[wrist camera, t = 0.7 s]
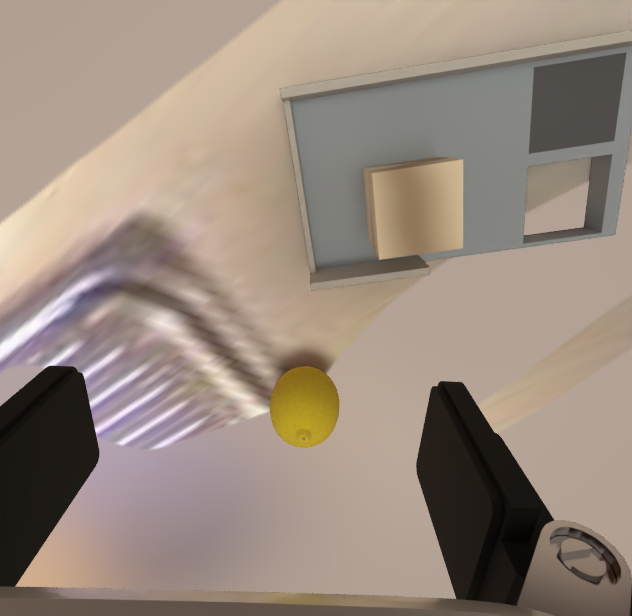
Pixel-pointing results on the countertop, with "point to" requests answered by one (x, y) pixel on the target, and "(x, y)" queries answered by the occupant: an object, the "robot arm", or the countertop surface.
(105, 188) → the countertop surface
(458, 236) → the block
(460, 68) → the pale blue tray
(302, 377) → the lemon
